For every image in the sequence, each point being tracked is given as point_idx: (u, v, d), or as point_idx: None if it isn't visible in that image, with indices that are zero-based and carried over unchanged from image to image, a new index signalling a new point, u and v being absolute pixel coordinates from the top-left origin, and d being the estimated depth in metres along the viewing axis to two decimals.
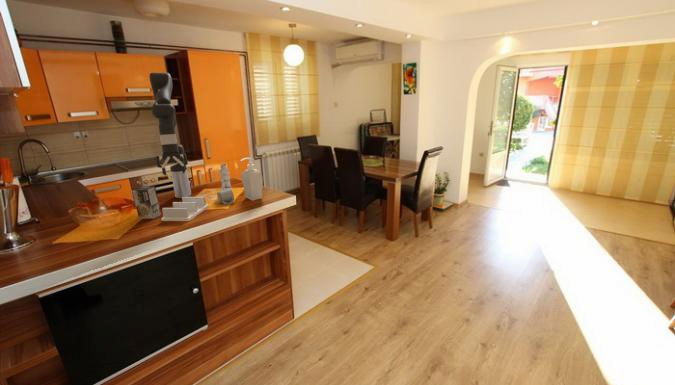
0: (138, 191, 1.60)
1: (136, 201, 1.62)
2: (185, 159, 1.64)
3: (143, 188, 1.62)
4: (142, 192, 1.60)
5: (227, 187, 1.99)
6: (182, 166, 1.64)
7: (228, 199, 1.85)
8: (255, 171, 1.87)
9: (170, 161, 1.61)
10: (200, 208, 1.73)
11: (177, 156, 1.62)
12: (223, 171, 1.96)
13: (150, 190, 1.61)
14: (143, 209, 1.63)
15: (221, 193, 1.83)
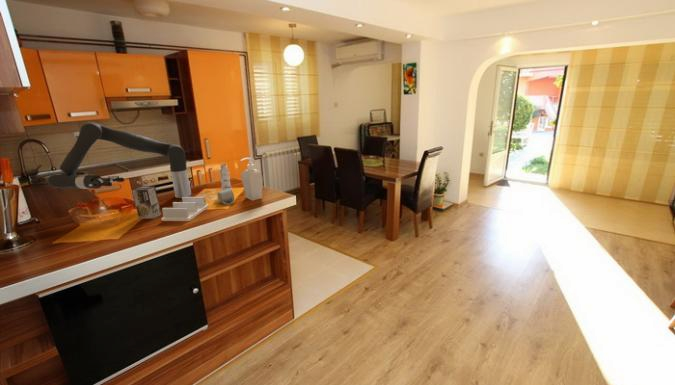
0: (138, 191, 1.60)
1: (136, 201, 1.62)
2: None
3: (143, 188, 1.62)
4: (142, 192, 1.60)
5: (227, 187, 1.99)
6: None
7: (228, 199, 1.85)
8: (255, 171, 1.87)
9: None
10: (200, 208, 1.73)
11: None
12: (223, 171, 1.96)
13: (150, 190, 1.61)
14: (143, 209, 1.63)
15: (221, 193, 1.83)
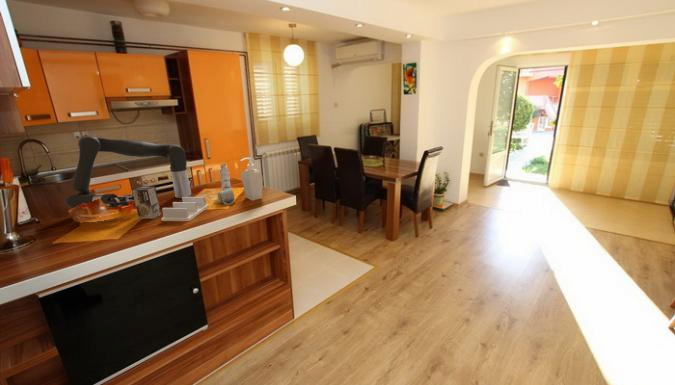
0: (138, 191, 1.60)
1: (136, 201, 1.62)
2: None
3: (143, 188, 1.62)
4: (142, 192, 1.60)
5: (227, 187, 1.99)
6: None
7: (228, 199, 1.84)
8: (255, 171, 1.87)
9: None
10: (200, 208, 1.73)
11: None
12: (223, 171, 1.96)
13: (150, 190, 1.61)
14: (143, 209, 1.63)
15: (221, 193, 1.83)
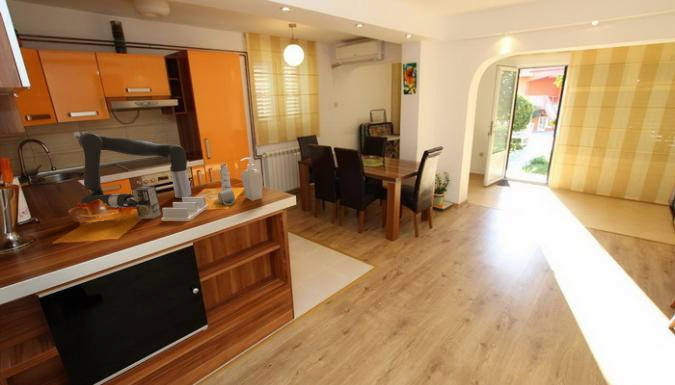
0: (138, 191, 1.60)
1: None
2: None
3: (143, 188, 1.62)
4: (142, 192, 1.60)
5: (227, 187, 1.99)
6: None
7: (229, 200, 1.84)
8: (255, 171, 1.87)
9: None
10: (200, 208, 1.73)
11: None
12: (223, 171, 1.96)
13: (150, 190, 1.61)
14: (143, 209, 1.63)
15: (222, 194, 1.82)
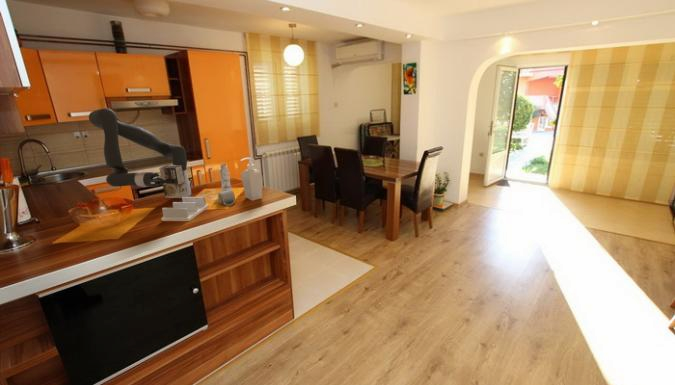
0: (165, 169, 1.55)
1: None
2: None
3: (170, 166, 1.57)
4: (169, 170, 1.55)
5: (227, 187, 1.99)
6: None
7: (229, 200, 1.83)
8: (255, 171, 1.87)
9: None
10: (200, 208, 1.73)
11: None
12: (223, 171, 1.96)
13: (178, 168, 1.56)
14: (170, 188, 1.58)
15: (222, 194, 1.81)
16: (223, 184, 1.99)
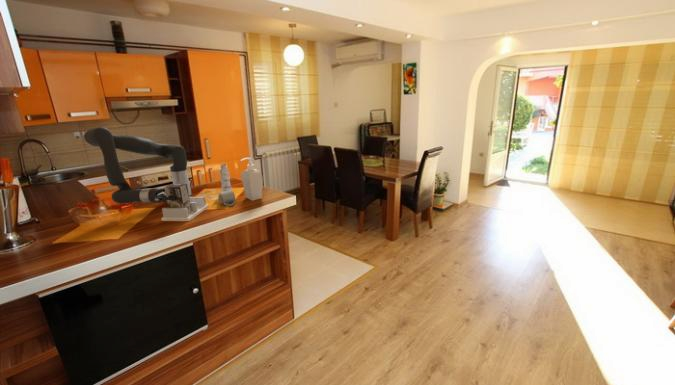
0: (170, 188, 1.58)
1: None
2: None
3: (175, 185, 1.60)
4: (174, 189, 1.58)
5: (227, 187, 1.99)
6: None
7: (229, 200, 1.83)
8: (255, 171, 1.87)
9: None
10: (200, 208, 1.73)
11: None
12: (223, 171, 1.96)
13: (182, 187, 1.59)
14: (175, 206, 1.61)
15: (222, 194, 1.81)
16: (223, 184, 1.99)
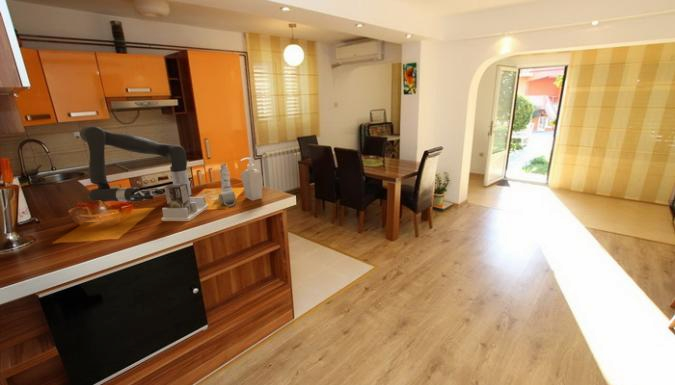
0: (170, 188, 1.58)
1: (168, 198, 1.60)
2: None
3: (175, 185, 1.60)
4: (174, 189, 1.58)
5: (227, 187, 1.99)
6: (145, 198, 1.60)
7: (230, 201, 1.82)
8: (255, 171, 1.87)
9: None
10: (200, 208, 1.73)
11: None
12: (223, 171, 1.96)
13: (182, 187, 1.59)
14: (175, 206, 1.61)
15: (223, 195, 1.80)
16: (223, 184, 1.99)
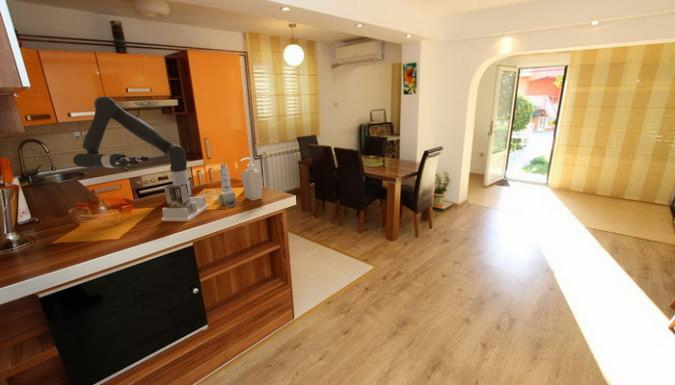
0: (170, 188, 1.58)
1: (168, 198, 1.60)
2: None
3: (175, 185, 1.60)
4: (174, 189, 1.58)
5: (227, 187, 1.99)
6: (131, 163, 1.59)
7: (230, 201, 1.81)
8: (255, 171, 1.87)
9: None
10: (200, 208, 1.73)
11: (123, 163, 1.61)
12: (223, 171, 1.96)
13: (182, 187, 1.59)
14: (175, 206, 1.61)
15: (223, 195, 1.79)
16: (223, 184, 1.99)
